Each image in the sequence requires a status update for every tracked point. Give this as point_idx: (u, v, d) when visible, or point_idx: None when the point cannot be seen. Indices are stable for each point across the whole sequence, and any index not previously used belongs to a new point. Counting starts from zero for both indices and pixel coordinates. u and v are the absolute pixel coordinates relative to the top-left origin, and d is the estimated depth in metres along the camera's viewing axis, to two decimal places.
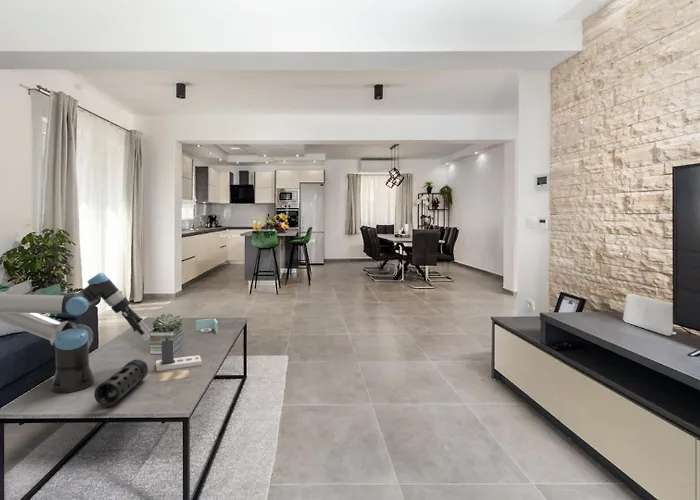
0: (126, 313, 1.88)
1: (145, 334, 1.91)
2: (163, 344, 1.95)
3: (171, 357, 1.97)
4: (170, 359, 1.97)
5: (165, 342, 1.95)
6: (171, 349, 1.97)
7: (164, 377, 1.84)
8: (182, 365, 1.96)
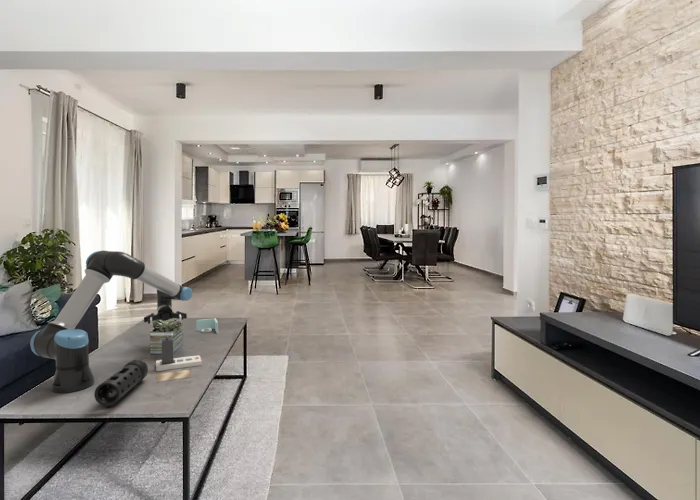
0: None
1: None
2: (163, 344, 1.95)
3: (171, 357, 1.97)
4: (170, 359, 1.97)
5: (165, 342, 1.95)
6: (171, 349, 1.97)
7: (164, 377, 1.84)
8: (182, 365, 1.96)
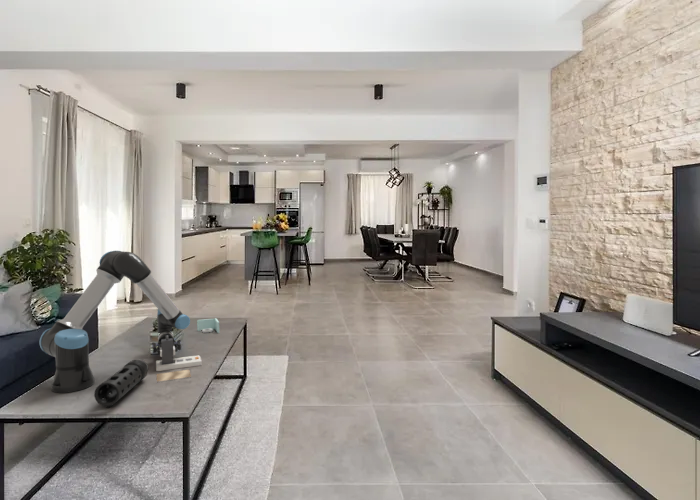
0: (180, 343, 2.10)
1: (174, 351, 1.97)
2: (163, 344, 1.95)
3: (171, 357, 1.97)
4: (170, 359, 1.97)
5: (165, 342, 1.95)
6: (171, 349, 1.97)
7: (164, 377, 1.84)
8: (182, 365, 1.96)
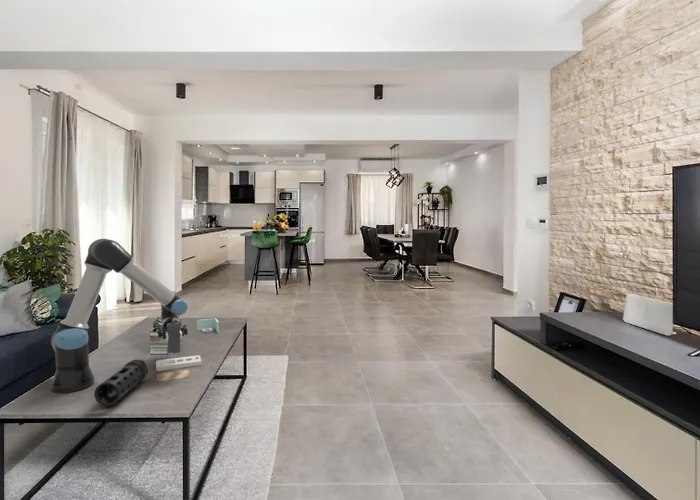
0: None
1: (181, 336, 1.86)
2: (169, 328, 1.85)
3: (177, 342, 1.87)
4: (176, 344, 1.86)
5: (171, 326, 1.85)
6: (178, 333, 1.86)
7: (164, 377, 1.84)
8: (182, 365, 1.96)
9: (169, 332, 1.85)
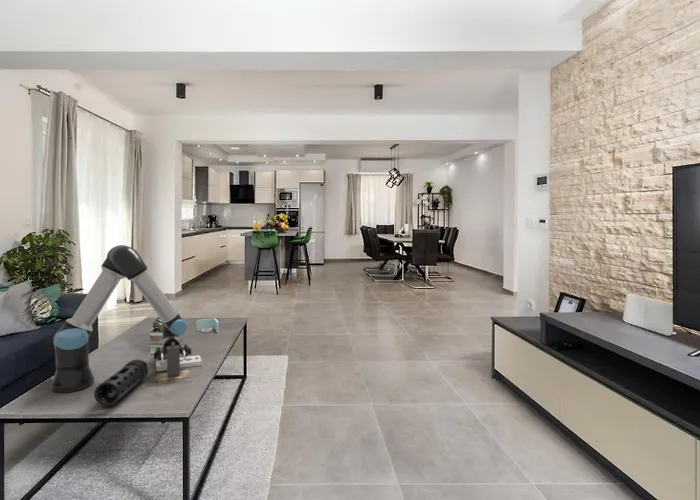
0: None
1: None
2: (169, 352, 1.83)
3: (177, 365, 1.85)
4: (176, 367, 1.85)
5: (171, 350, 1.84)
6: (177, 357, 1.85)
7: (164, 377, 1.84)
8: (182, 365, 1.96)
9: (169, 356, 1.83)
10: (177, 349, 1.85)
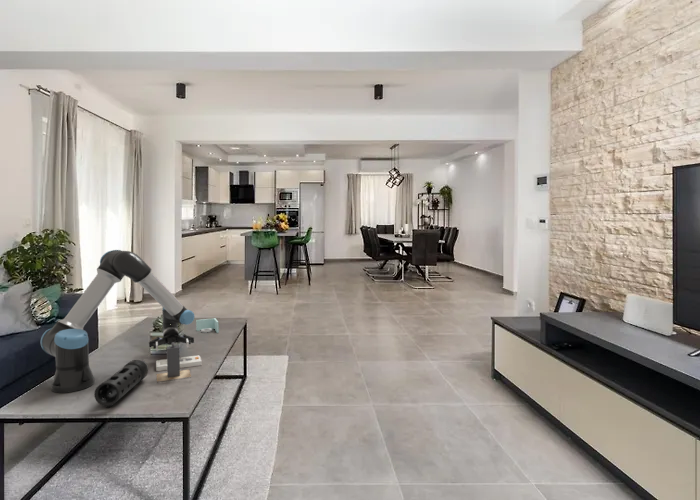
0: None
1: None
2: (169, 352, 1.83)
3: (177, 365, 1.85)
4: (176, 367, 1.85)
5: (171, 350, 1.84)
6: (177, 357, 1.85)
7: (164, 377, 1.84)
8: (182, 365, 1.96)
9: (169, 356, 1.83)
10: (177, 349, 1.85)
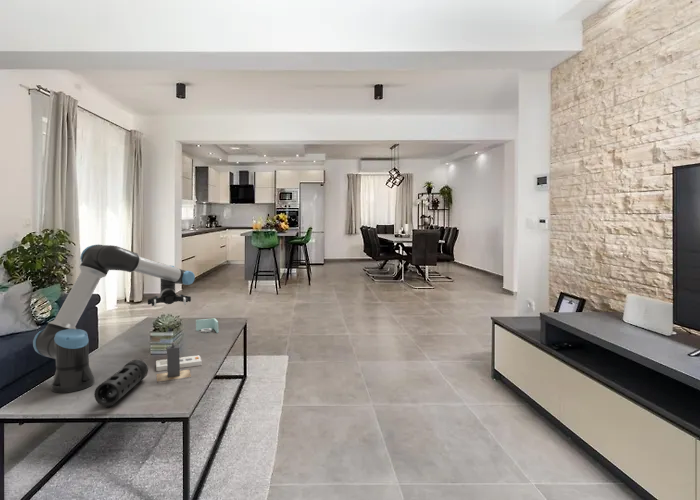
0: None
1: (185, 302, 2.09)
2: (169, 352, 1.83)
3: (177, 365, 1.85)
4: (176, 367, 1.85)
5: (171, 350, 1.84)
6: (177, 357, 1.85)
7: (164, 377, 1.84)
8: (182, 365, 1.96)
9: (169, 356, 1.83)
10: (177, 349, 1.85)
